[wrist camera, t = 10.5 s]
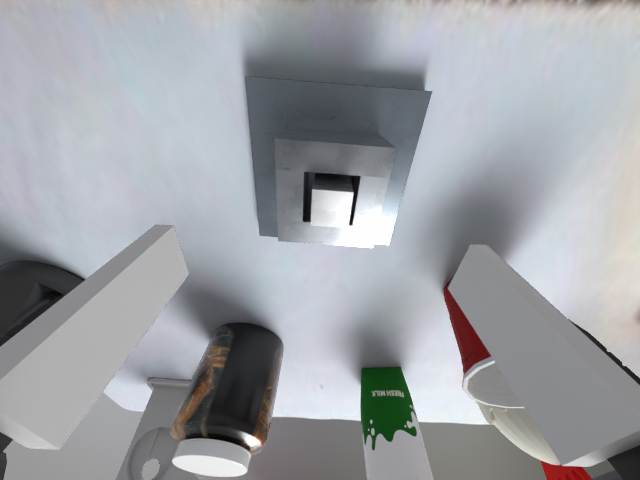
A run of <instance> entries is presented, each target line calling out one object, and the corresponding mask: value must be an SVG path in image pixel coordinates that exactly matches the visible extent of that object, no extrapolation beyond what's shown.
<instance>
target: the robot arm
mask: <svg viewBox="0 0 640 480" xmlns="http://www.w3.org/2000/svg"><path fill="white" fill-rule="evenodd" d="M188 275H189V271H188V268H187V265H186V262H185V259H184V256H183V253H182V249H181V246H180V243H179V240H178V237H177V234H176V231H175V228H174V226H171V225H155V226H153V227H152V228H151V229H149V230H148V231H147V232H146V233H144V234H143V235H142V236H141V237H139V238H138V239H137V240H135V241H134V242H133V243H132V244H130V245H129V246H128V247H127V248H125V249H124V250H123V251H122V252H120V253H119V254H118V255H116V256H115V257H114V258H113V259H111V260H110V261H109V262H108V263H106V264H105V265H104V266H102V267H101V268H100V269H99V270H97V271H96V272H95V273H94V274H92V275H91V276H90V277H88V278H87V279H86V280H85V281H83V280H82V279H80V278H78V277H76V276H74V275H72V274H70V273H68V272H66V271H63V270H61V269H58V268H55V267H52V266H49V265H45V264H41V263H36V262H28V261H17V262H11V263H7V264H5V265H3V266H1V267H0V480H3V478H4V474H5V469H6V464H7V460H6V453H4V452H2V451H3V450H4V449H5V448H6V447H7V446H8V445H9V444H10V442H11V441H12V440H14V441H16V442H18V443H20V444H21V445H24V446H25V447H27V448H32V449H61V447H62V446H63V445H64V443H65V442H66V441H67V439H68V438H69V437H70V435H71V434H72V432H73V431H74V430H75V428H76V427H77V426H78V424H79V423H80V422H81V420H82V419H83V418H84V416H85V415H86V413H87V412H88V411H89V409H90V408H91V407H92V405H93V404H94V403H95V401H96V400H97V399H98V397H99V395H101V393H102V392H103V390H104V389H105V388H106V386H107V385H108V384H109V382H110V381H111V380H112V378H113V377H114V376H115V374H116V373H117V371H118V370H119V369H120V367H121V366H122V365H123V363H124V362H125V361H126V359H127V358H128V357H129V355H130V354H131V352H132V351H133V350H134V348H135V347H136V346H137V344H138V343H139V342H140V340H141V339H142V338H143V336H144V335H145V333H146V332H147V331H148V329H149V328H150V327H151V325H152V324H153V323H154V321H155V320H156V319H157V317H158V316H159V314H160V313H161V312H162V310H163V309H164V308H165V306H166V305H167V304H168V302H169V301H170V300H171V298H172V297H173V295H174V294H175V293H176V291H177V290H178V289H179V287H180V286H181V285H182V283H183V282H184V281H185V279H186V278H187V276H188ZM448 290H449V291H450V293H451V294H452V296H453V297H454V299H455V300H456V302H457V304H458V305H459V307H460V308H461V310H462V311H463V313H464V314H465V316H466V318H467V319H468V321H469V322H470V324H471V325H472V327H473V328H474V330H475V331H476V333H477V335H478V336H479V338H480V339H481V341H482V342H483V344H484V345H485V347H486V349H487V350H488V352H489V353H490V355H491V356H492V358H493V359H494V361H495V363H496V364H497V366H498V367H499V369H500V370H501V372H502V373H503V375H504V376H505V378H506V380H507V381H508V383H509V384H510V386H511V387H512V389H513V390H514V392H515V394H516V395H517V397H518V398H519V400H520V401H521V403H522V404H523V406H524V408H525V409H526V411H527V412H528V414H529V415H530V417H531V418H532V420H533V422H534V423H535V425H536V426H537V428H538V429H539V431H540V432H541V434H542V435H543V437H544V439H545V440H546V442H547V443H548V445H549V446H550V448H551V449H552V451H553V453H554V454H555V456H556V457H557V459H558V460H559V462H560V463H561V465H562V466H580V467H590V466H592V465H595V464H597V463H600V462H602V461H605V460H608V461H609V462H610V463H611V464H612V466H613V467H614V468H615V470H614V471H611V472H608V473H605V474H603V475H600V476H597V477H595V478H593V479H591V480H640V378H639V377H638V376H636V375H635V374H634V373H633V372H632V371H631V370H630V369H629V368H627V367H626V366H623V365H622V362H621V361H620V360H619V359H617V358H616V357H615V356H614V355H613V354H612V353H611V352H607V349H606V348H605V347H604V346H603V345H602V344H601V343H600V342H599V341H597V340H596V339H595V338H594V337H593V336H592V335H591V334H590V333H588V332H587V331H585V330H584V329H582V328H581V327H579V326H578V325H576V324H575V323H573V322H572V321H570V320H569V319H567V318H566V317H565V316H564V315H563V314H562V313H561V312H559V311H558V310H557V309H556V308H555V307H554V306H553V305H552V304H551V303H550V302H549V301H548V300H546V299H545V298H544V297H543V296H542V295H541V294H540V293H539V292H538V291H537V290H536V289H534V288H533V287H532V286H531V285H530V284H529V283H528V282H527V281H526V280H525V279H524V278H522V277H521V276H520V275H519V274H518V273H517V272H516V271H515V270H514V269H513V268H512V267H510V266H509V265H508V264H507V263H506V262H505V261H504V260H503V259H502V258H501V257H500V256H499V255H497V254H496V253H495V252H494V251H493V250H492V249H491V248H490V247H489V246H488V245H478V244H470V246H469V248H468V250H467V252H466V254H465V256H464V258H463V260H462V261H461V263H460V265H459V267H458V269H457V271H456V273H455V275H454V277H453V279H452V281H451V283H450V285H449V287H448Z"/></svg>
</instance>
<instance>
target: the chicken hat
mask: <svg viewBox="0 0 640 480" xmlns="http://www.w3.org/2000/svg"><path fill="white" fill-rule="evenodd" d="M475 401H476V400H475ZM476 403H477V404H478V405H479V407H480V409H481V412H482V414H483V415H484V417H485V419H486V421H487V422H488V423H489V424H491V425H492V424H494V425H495V426H496V427H497V428H498V429H499V430H500V431H501V432H502V433H503V434H504V435H505V436H506V437H507V438H508V439H509V440H510V441H511V442H513V443H514V444H515V445H516V446H518V447H519V448H521V449H522V450H523V451H525V452H526V453H528V454H530V455H531V456H533V457H535V458H537V459H539V460H541V463H542V466H543V469H544V472H545V475H546V478H547V480H591V477H590V476H589V475H588V474H587V472H586V471H585V470H584V469H583V468H582V467H580V466H562V465H561V463H560V462H559V460H558V459H557V457H556V456H555V454H554V453H553V451H552V449H551V448H550V446H549V445H548V443H547V442H546V440H545V439H544V437H543V435H542V434H541V432H540V431H539V429H538V428H537V426H536V425H535V423H534V422H533V420H532V418H531V417H530V415H529V414H528V412H527V411H526V409H525V408H503V407H497V406H491V405H485V404H483V403H480V402H478V401H476Z"/></svg>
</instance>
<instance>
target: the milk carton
mask: <svg viewBox="0 0 640 480" xmlns="http://www.w3.org/2000/svg"><path fill="white" fill-rule="evenodd" d="M361 423H362V433H363V443H364V454H365V463H366V473H367V480H434V479H433V476H432V472H431V468H430V464H429V461H428V457H427V453H426V450H425V446H424V443H423V439H422V435H421V431H420V428H419V424H418V420H417V417H416V413H415V409H414V406H413V402H412V399H411V396H410V393H409V390H408V387H407V384H406V381H405V379H404V376H403V373H402V370H401V368H366V369H362V380H361Z"/></svg>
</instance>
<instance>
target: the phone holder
mask: <svg viewBox="0 0 640 480" xmlns="http://www.w3.org/2000/svg"><path fill="white" fill-rule="evenodd" d="M190 382H191V381H187V380H174V379H161V378H151V379H149V381H148V383H147V384H148V386H149V387H150V389H151V390H152V394H151V397H150V399H149V402H148V404H147V406H146V409H145V411H144V414H143V416H142V418H141V421H140V423H139V425H138V428H137V430H136V433H135V435H134V437H133V440H132V442H131V445H130V447H129V449H128V452H127V454H126V456H125V459H124V461H123V464H122V466H121V468H120V471H119V473H118V476H117V478H116V480H144V479H143V477H142V471H143V468H144V466H145V464H146V463H147V462H148V461H149V460H151V459H158V461H159V464H160V469H159V472H158V474H157V475H156V476H155V478H153V479H152V480H203V479H202V478H201V476H200V475H199V474H196V473H192V472H189V471H185V470H183V469H180V468H178V467H176V466H175V465H174V464H173V463H172V459H173V456H174V454H175V452H176V449H177V445H178V443H177V442H175V441H174V440H173V438H172V437H171V435H170V429H171V426H172V423H173V420H174V418H175V415H176V413H177V411H178V408H179V406H180V404H181V402H182V399H183V397H184V395H185V393H186V391H187V389H188V386H189V384H190Z"/></svg>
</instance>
